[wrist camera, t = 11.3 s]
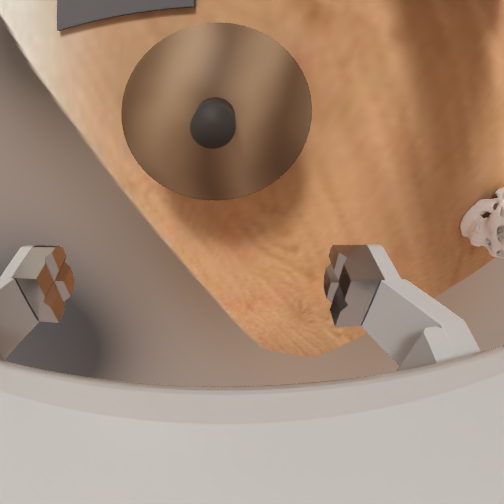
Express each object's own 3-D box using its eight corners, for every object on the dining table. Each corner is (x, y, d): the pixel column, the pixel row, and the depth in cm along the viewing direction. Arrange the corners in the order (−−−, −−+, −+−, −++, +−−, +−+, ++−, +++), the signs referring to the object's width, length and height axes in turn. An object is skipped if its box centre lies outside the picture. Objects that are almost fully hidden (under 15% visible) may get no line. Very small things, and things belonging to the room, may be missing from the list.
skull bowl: (451, 214, 38) (525, 235, 28) (477, 162, 41) (539, 174, 31) (457, 261, 44) (519, 283, 34) (483, 208, 46) (537, 223, 36)
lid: (315, 29, 20) (334, 27, 16) (299, 195, 30) (311, 223, 26) (121, 32, 19) (98, 31, 15) (135, 196, 29) (121, 225, 25)
